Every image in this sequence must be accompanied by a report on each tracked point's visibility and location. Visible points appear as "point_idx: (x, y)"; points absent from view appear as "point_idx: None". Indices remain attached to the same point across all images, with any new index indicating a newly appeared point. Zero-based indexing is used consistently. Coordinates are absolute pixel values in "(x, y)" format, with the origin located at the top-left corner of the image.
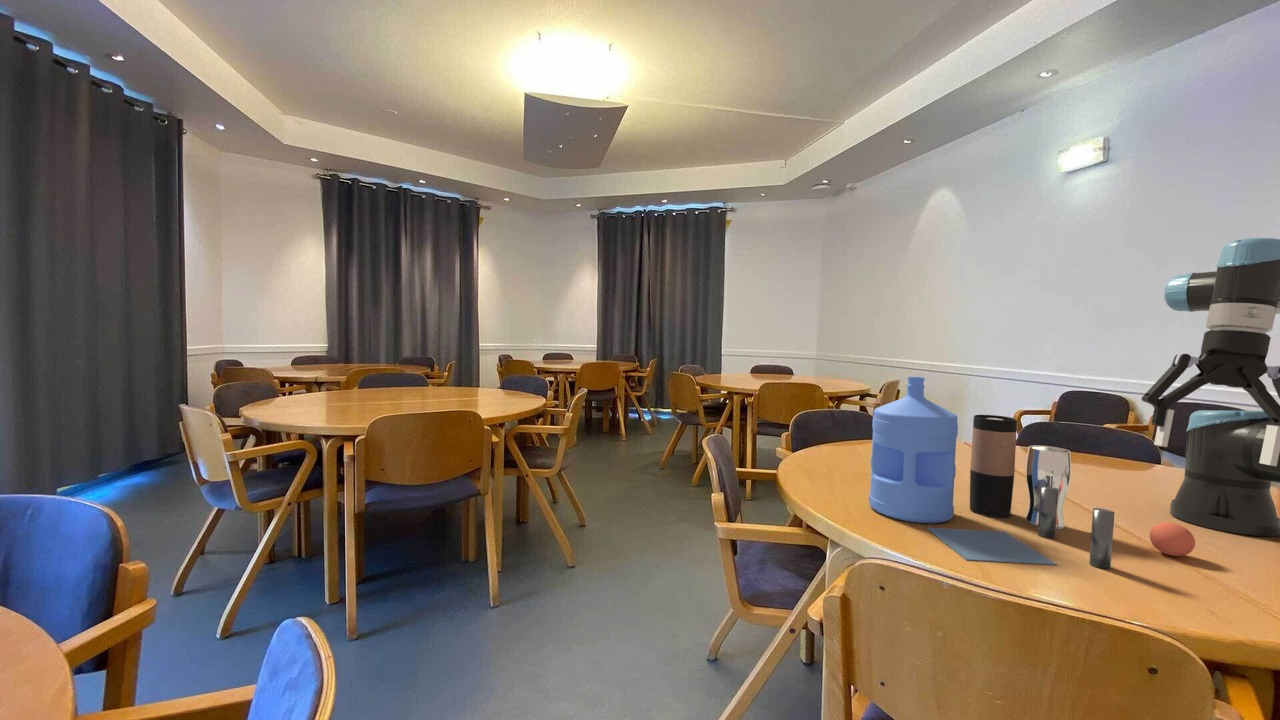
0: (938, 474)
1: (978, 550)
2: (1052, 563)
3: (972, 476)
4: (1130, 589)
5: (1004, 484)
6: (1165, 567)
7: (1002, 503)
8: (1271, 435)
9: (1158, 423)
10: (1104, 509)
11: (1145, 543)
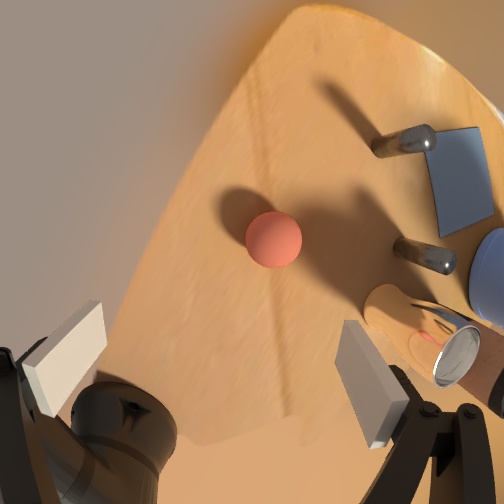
0: None
1: (471, 154)
2: None
3: None
4: (372, 84)
5: None
6: (302, 172)
7: None
8: (60, 368)
9: (393, 371)
10: (424, 145)
11: (279, 280)
